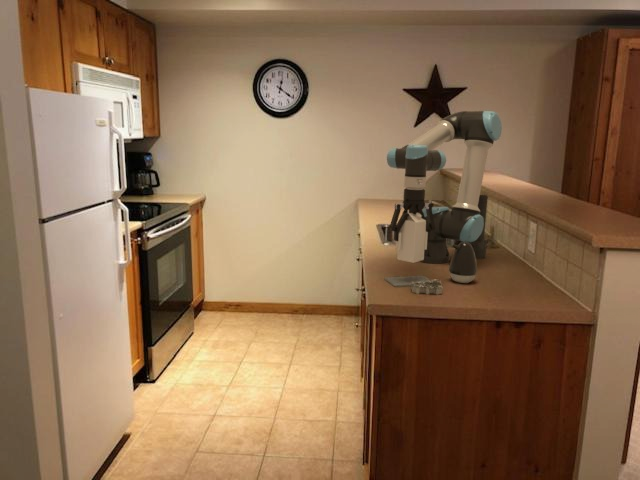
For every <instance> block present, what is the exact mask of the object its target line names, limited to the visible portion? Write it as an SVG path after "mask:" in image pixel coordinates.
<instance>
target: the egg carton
mask: <svg viewBox="0 0 640 480" xmlns="http://www.w3.org/2000/svg"><path fill="white" fill-rule="evenodd" d="M430 280H431V281H426V282H415V283H414V282H411V283H412V286H410V290H411V291H412V292H411V293H413V294H417V295H419V294H426V295H429V294H434V295H440V294H442V293H443V288H444V287H443V286H442V282H441V279H438V278H436V279H435V278H433V279H430Z"/></svg>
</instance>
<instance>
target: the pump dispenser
mask: <svg viewBox="0 0 640 480" xmlns="http://www.w3.org/2000/svg"><path fill="white" fill-rule="evenodd" d="M452 248H453V249H454V251H453V252H452V256H451V258H450V260H449V266H448V272H449V275H450V278H451V280H452V281H454V282H456V283H460V284H469V283H470V282H472V281H474V279H475V278H476V275H477V273H478V266H477V259H476V257H475V253H474V250H473V248H472V246H471V242H463V241H460V242H459V243H458V244H457V245H456V244H453V245H452Z"/></svg>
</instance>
